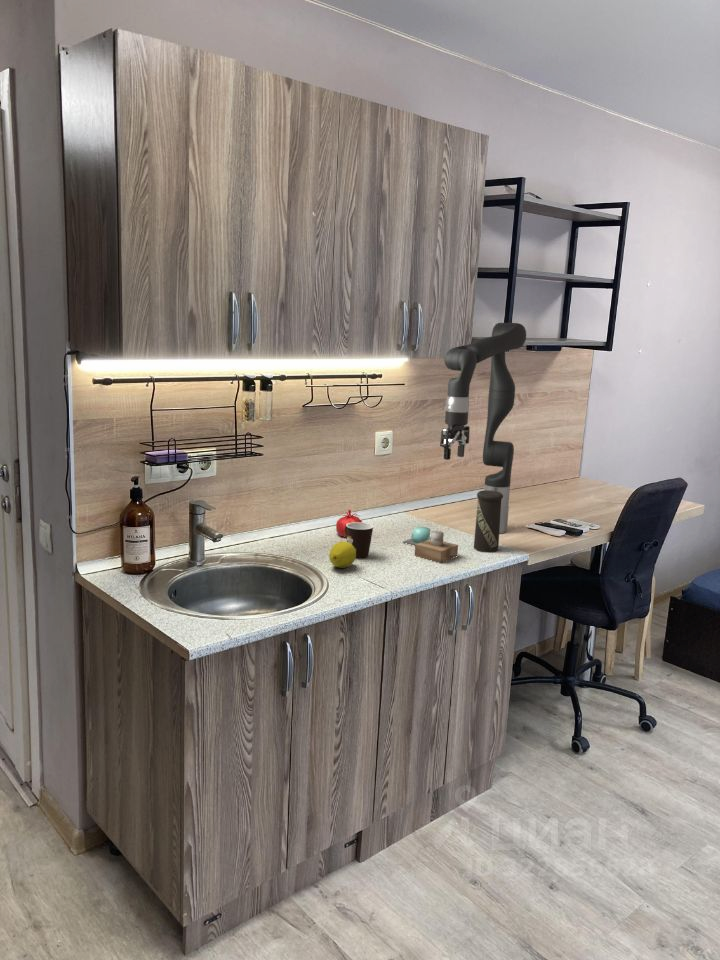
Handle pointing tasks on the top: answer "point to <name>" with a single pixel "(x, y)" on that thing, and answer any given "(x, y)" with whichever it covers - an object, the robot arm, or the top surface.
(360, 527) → the coffee mug
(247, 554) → the top surface
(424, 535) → the teal rounded tabbed figurine
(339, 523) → the pomegranate
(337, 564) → the lemon
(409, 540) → the coaster
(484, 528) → the container
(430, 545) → the post block
